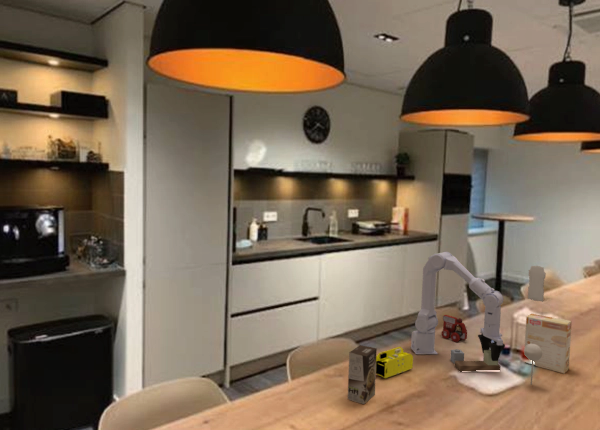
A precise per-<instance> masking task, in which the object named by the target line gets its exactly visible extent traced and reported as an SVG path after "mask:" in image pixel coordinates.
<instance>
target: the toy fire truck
mask: <svg viewBox="0 0 600 430" xmlns="http://www.w3.org/2000/svg"><path fill="white" fill-rule="evenodd" d="M442 321H443V322H442V323H443V325H442V331H441V333H440V334H441V336H442V338H443V339H444V340H448V339H449V338H450V339H451V341H452V342H454V343H456V342H457V343H458V342H459V341H460V340H467V339H468V330H467V326H466V324H465V323H464V322H463V318H458V317H454V316H452V315H448V314H443V316H442Z"/></svg>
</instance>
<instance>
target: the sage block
mask: <svg viewBox="0 0 600 430" xmlns="http://www.w3.org/2000/svg"><path fill="white" fill-rule="evenodd" d="M482 358H483V360H482V361H484V362H485V363H486V364H487V365H498V364H499V360H498V361H492V359H491V349H490V350H484V354H483V357H482Z"/></svg>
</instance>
